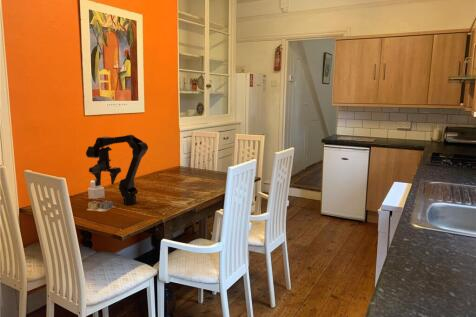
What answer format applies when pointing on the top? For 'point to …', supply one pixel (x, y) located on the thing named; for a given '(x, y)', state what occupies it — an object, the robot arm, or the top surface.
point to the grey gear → (106, 205)
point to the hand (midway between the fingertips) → (105, 184)
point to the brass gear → (94, 205)
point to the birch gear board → (100, 208)
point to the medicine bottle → (96, 190)
